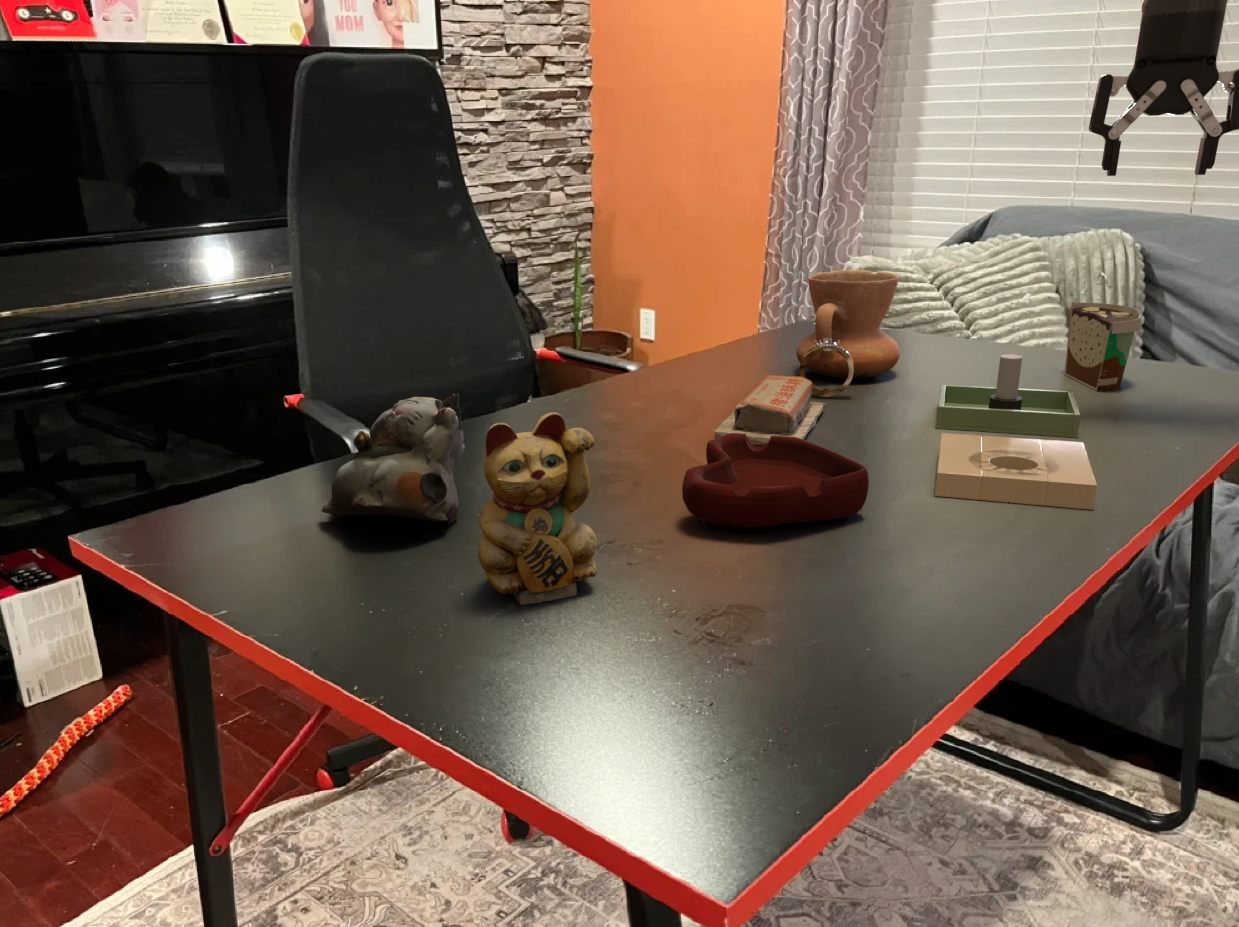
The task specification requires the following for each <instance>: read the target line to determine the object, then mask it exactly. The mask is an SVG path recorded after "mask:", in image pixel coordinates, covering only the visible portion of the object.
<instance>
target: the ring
mask: <svg viewBox="0 0 1239 927" xmlns="http://www.w3.org/2000/svg"><path fill="white" fill-rule="evenodd" d="M831 339H832V338H831V337H829V338H823V342H821V340H819V343H818V344H817V340H815V341H814V343H815V345H814V346H812V347H811V348H810V349H809V350H808V351H807V352H806V354H805V355H804V357H803V359H802V361H801V364H800V363H799V369H798V370H799V371H798V372H799V376H800V377H804V378H806V379H808V377H807V374H806V369H807V368H806V364H807V362H808V361H809V360H810V359H811V358H812V357H813V356H815V355H817V354H819V353H821V352H822V350H823V351H832V350H835V351H836V352H838V353H839V354H841V355H842V356H843V357H844V358H845V359H846V361H847V363H848V367H849V373H848V377H847V378H846V379H845V381H844V383H843V384H842V385H841V386H839V387H838V388H835V389H832V390H830V389H829V388H823V389H819V388H817V387H815V386H814V385H813V386H812V393H811V394H814V395H816V396H819V397H821V398H822V397H823V396H825V397H827V398H828V397H834V396H837V395H839V394H841V393H842V392H844V391H845V390H846V389H847V388H848V387H849V386H850V384H851V383H852V381H853V379H854V378H853V376H854V371H855V365H854V361H853V358H852V356H851V355H850V354H849V353H848V352H847V351H846V350H845V349H844V348H842V347H840V346H838V345H839V341H840V340H837V343H836V342H832V340H831Z"/></svg>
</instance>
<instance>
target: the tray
mask: <svg viewBox="0 0 1239 927" xmlns="http://www.w3.org/2000/svg"><path fill="white" fill-rule="evenodd" d="M996 387H997V386H996ZM996 387H993V386H979V385H977V386H976V385H975V386H974V385H957V384H956V385H955V384H941V385H940V390H939V398H938V407H937V416H936V425H935V428H936V429H940V430H955V431H968V432H969V431H971V432H988V433H1001V434H1016V435H1031V436H1048V437H1059V438H1060V437H1063V438H1078V435H1079V429H1080V422H1081V416H1082V415H1081V412H1080V409H1079V407H1078V403H1077V401H1076V397H1075V395H1074V393H1073V391H1071V390H1056V389H1055V390H1053V389H1037V388H1036V389H1032V388H1018V394H1017V396H1020V397H1022V405H1021V410H1007V409H990V408H989V400H990V396H991V395H993V394H996Z"/></svg>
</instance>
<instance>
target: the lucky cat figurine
mask: <svg viewBox="0 0 1239 927" xmlns="http://www.w3.org/2000/svg"><path fill="white" fill-rule="evenodd" d="M464 440H465V438H464V430H463V428H462V408H461V407H460V394H459V393H453V394H451V395H449V396H447V398H445V399H443V400H440V399H436V398H435V397H427V396H426V397H425V396H413V397H410V398H405V399H399V400H398V401H397V403H395V404H394V405H393V407H392V408H390V409H389V408H388V410H385V411H384V412H382V413H381V414H380V415H379V416H378V417H377V418H376V420H375V421H374V422H373V424H372V425H371V427H370V429H369V433H368V432H366V431H363V430H359V431H358V432H357V434H356V435H355V438H353V442H352V443H353V445H354V446H355V448H356V450H357V453H356V454H355V455H353V456H352V458H351V459H350V461H348V462H347V463H345V464H343V465H342V466H340V467H339V469H338V471H337V473H336V474H335V477H334V479H333V481H332V483H331V497H330V500H329V501H326V502H325V503H323V505H322V508H319V510H320V511H321V512H322V513H324V514H330V515H331V516H332V517H334V518H335V519H339V518H340V517H342V516H389V517H397V518H403V519H404V518H405V519H412V520H420V521H427V522H436V523H439V524H442V525H445V526H450V525H453V524H454V522H455V520H456V519H457V517H458V514H459V508H460V503H459V502H460V500H459V497H458V490H457V487H456V485H455V475H456V470H457V468H458V466H459V464H460V462H461V460H462V459H463V457H464V454H465V447H466V445H465V443H464Z"/></svg>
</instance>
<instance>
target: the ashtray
mask: <svg viewBox="0 0 1239 927" xmlns="http://www.w3.org/2000/svg"><path fill="white" fill-rule="evenodd" d="M705 458H706V464H701V465H696V466H693V467H692V466H691V467H690V468H688V469H686V471H685V474H684V477H683V480H682V485H681V486H682V488H681V493H682V496H681V497H682V501H683V503H684V505H685V507H686V509H687V511H688V512H689V513H690V514H691V515H693V517H695V518H697V519H698V520H701V521H703V527H704V528H705V529H707V530H709V531H713V532H728V531H732V530H734V529H736V528H737V527H738V528H763V527H764V528H765V527H773V526H778V525H785V524H793V523H809V522H820V521H821V522H822V521H833V522H834V521H835V522H839V521H840V522H841V521H845V520H848V519H850V518H851V517H853V516H855V515H857V514H858V513H859V512H860V511H861V510H862V509H863V507H864V505H865V503H866V501H867V498H868V493H869V486H870V480H869V471H868V469H867V468H866V467H865V466H864V465H863V464H860V463H859V462H857V461H854V460H852V459H851V458H848V457H847V456H844V455H842V454H839V453H838V452H835V451H832V450H830V449H828V448H825V447H822V446H820V445H817V444H815V443H813V442H811V441H808V440H805V439H804V440H803V439H800V438H797V437H787V436H771V438H770V440H769V441H768V443H766V444H765V445H753V444H751V443H750V442H749V440H748V439H747V436H746V434H743V433H729V434H726V435H724V436H722V437H720V438H718V439H715V438H714V439H710V440H709V441H707V443H706V451H705Z"/></svg>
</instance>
